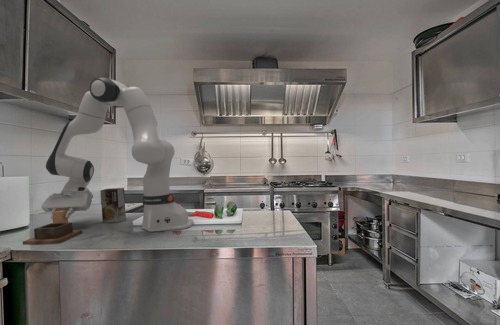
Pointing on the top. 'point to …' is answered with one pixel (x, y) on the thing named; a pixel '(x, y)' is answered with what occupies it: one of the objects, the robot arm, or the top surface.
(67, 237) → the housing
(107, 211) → the coffee box
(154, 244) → the top surface
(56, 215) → the block
